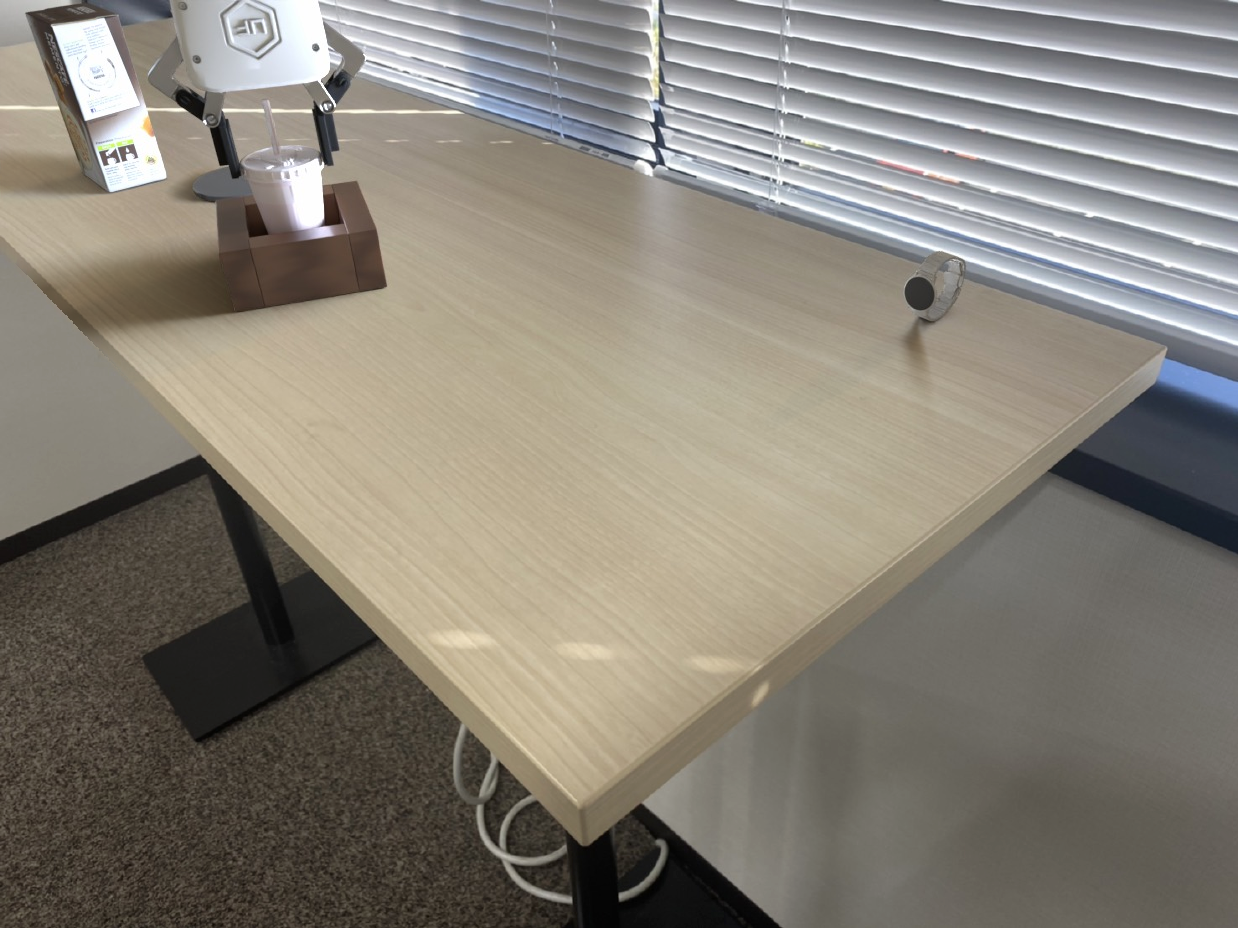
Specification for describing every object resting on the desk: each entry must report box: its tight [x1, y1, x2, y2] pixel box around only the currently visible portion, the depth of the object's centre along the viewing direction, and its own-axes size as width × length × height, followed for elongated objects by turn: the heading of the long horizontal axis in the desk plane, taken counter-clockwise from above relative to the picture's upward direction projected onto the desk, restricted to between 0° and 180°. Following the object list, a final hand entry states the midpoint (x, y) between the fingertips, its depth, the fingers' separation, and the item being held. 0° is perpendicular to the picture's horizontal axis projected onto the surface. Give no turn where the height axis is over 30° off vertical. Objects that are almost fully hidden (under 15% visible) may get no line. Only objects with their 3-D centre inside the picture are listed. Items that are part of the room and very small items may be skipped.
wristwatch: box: [903, 250, 967, 322], centre depth 72 cm, size 3×5×5 cm, turn 131°
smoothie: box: [239, 98, 325, 235], centre depth 79 cm, size 6×6×14 cm
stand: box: [215, 180, 388, 313], centre depth 81 cm, size 12×12×5 cm
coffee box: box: [24, 2, 168, 193], centre depth 98 cm, size 9×6×16 cm
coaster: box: [192, 165, 253, 203], centre depth 100 cm, size 10×10×1 cm
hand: (282, 165), depth 77 cm, fingers closed on smoothie, 6 cm apart
